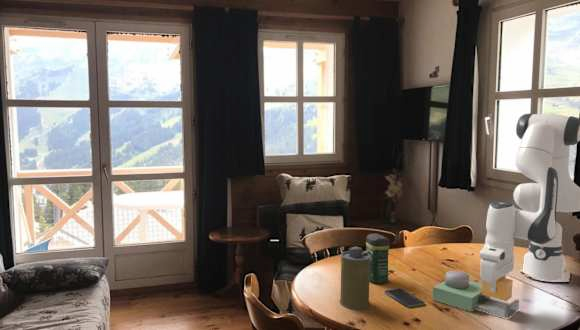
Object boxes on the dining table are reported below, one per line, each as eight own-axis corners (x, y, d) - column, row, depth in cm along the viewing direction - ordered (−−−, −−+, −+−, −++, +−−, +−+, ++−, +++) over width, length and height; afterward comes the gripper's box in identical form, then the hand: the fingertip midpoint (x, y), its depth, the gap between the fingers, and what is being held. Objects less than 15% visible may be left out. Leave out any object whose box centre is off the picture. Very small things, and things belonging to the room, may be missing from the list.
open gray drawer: (486, 301, 164) (487, 291, 163) (518, 310, 156) (519, 300, 156) (474, 309, 157) (475, 299, 156) (507, 319, 149) (508, 308, 149)
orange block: (487, 290, 161) (488, 274, 160) (511, 297, 155) (512, 279, 154) (481, 294, 157) (482, 277, 157) (506, 301, 152) (507, 283, 151)
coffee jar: (391, 283, 181) (392, 237, 179) (373, 285, 179) (374, 238, 177) (379, 275, 191) (381, 231, 189) (362, 276, 188) (363, 232, 186)
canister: (354, 311, 154) (355, 253, 152) (333, 301, 163) (334, 246, 161) (376, 304, 161) (378, 248, 159) (355, 294, 169) (357, 241, 167)
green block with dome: (453, 289, 176) (454, 266, 175) (490, 299, 166) (491, 275, 165) (432, 300, 164) (433, 276, 164) (471, 312, 155) (472, 286, 154)
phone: (407, 306, 157) (383, 290, 171) (407, 309, 158) (383, 293, 171) (426, 303, 160) (400, 288, 174) (426, 306, 160) (400, 290, 174)
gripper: (501, 242, 164) (499, 279, 165) (477, 253, 150) (475, 294, 151) (519, 245, 160) (517, 284, 161) (497, 257, 145) (494, 299, 147)
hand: (496, 289), depth 156 cm, fingers closed on orange block, 5 cm apart
